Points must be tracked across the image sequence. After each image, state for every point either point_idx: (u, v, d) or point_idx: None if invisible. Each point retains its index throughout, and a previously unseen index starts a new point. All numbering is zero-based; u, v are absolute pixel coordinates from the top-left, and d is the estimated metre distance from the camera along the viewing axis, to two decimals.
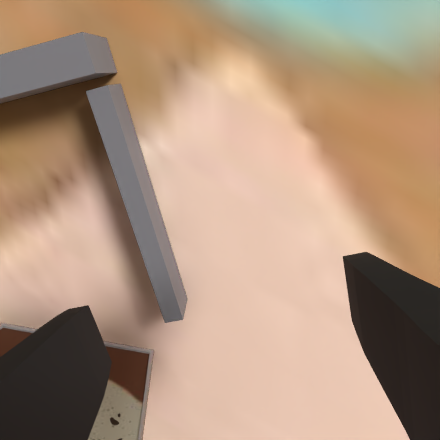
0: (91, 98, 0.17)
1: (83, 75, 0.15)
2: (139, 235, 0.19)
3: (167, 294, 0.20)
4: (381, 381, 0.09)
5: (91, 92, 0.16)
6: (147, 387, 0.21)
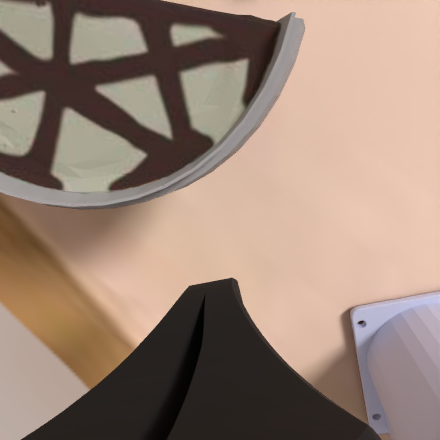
0: None
1: None
2: None
3: None
4: None
5: None
6: None
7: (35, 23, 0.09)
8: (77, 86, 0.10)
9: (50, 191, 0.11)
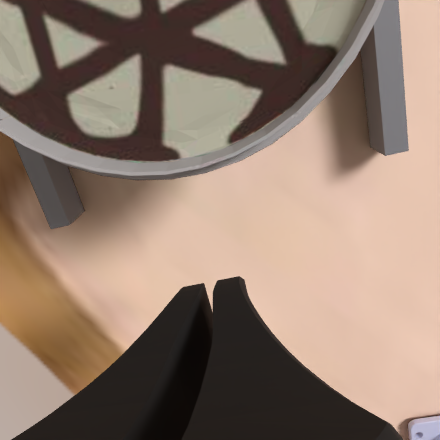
0: None
1: None
2: (379, 29, 0.15)
3: (396, 114, 0.16)
4: None
5: None
6: None
7: None
8: (172, 36, 0.09)
9: (168, 163, 0.10)
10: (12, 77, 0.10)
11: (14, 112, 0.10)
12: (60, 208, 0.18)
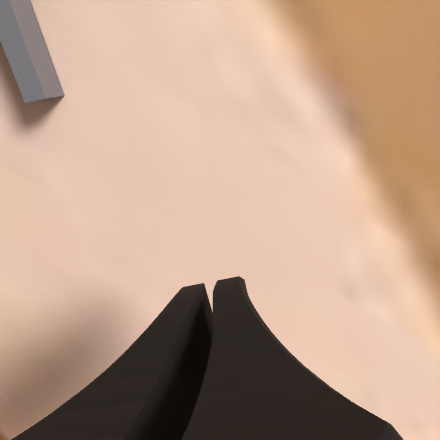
0: None
1: None
2: None
3: (22, 60, 0.16)
4: None
5: None
6: None
7: None
8: None
9: None
10: None
11: None
12: None
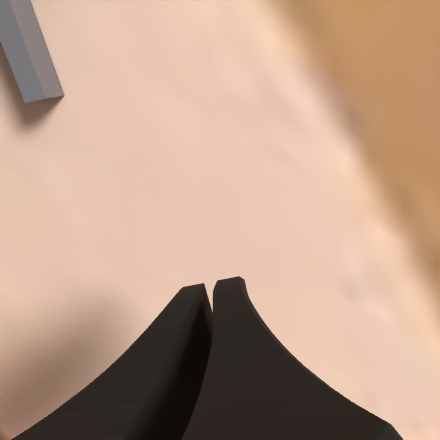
0: None
1: None
2: None
3: (22, 60, 0.16)
4: None
5: None
6: None
7: None
8: None
9: None
10: None
11: None
12: None
